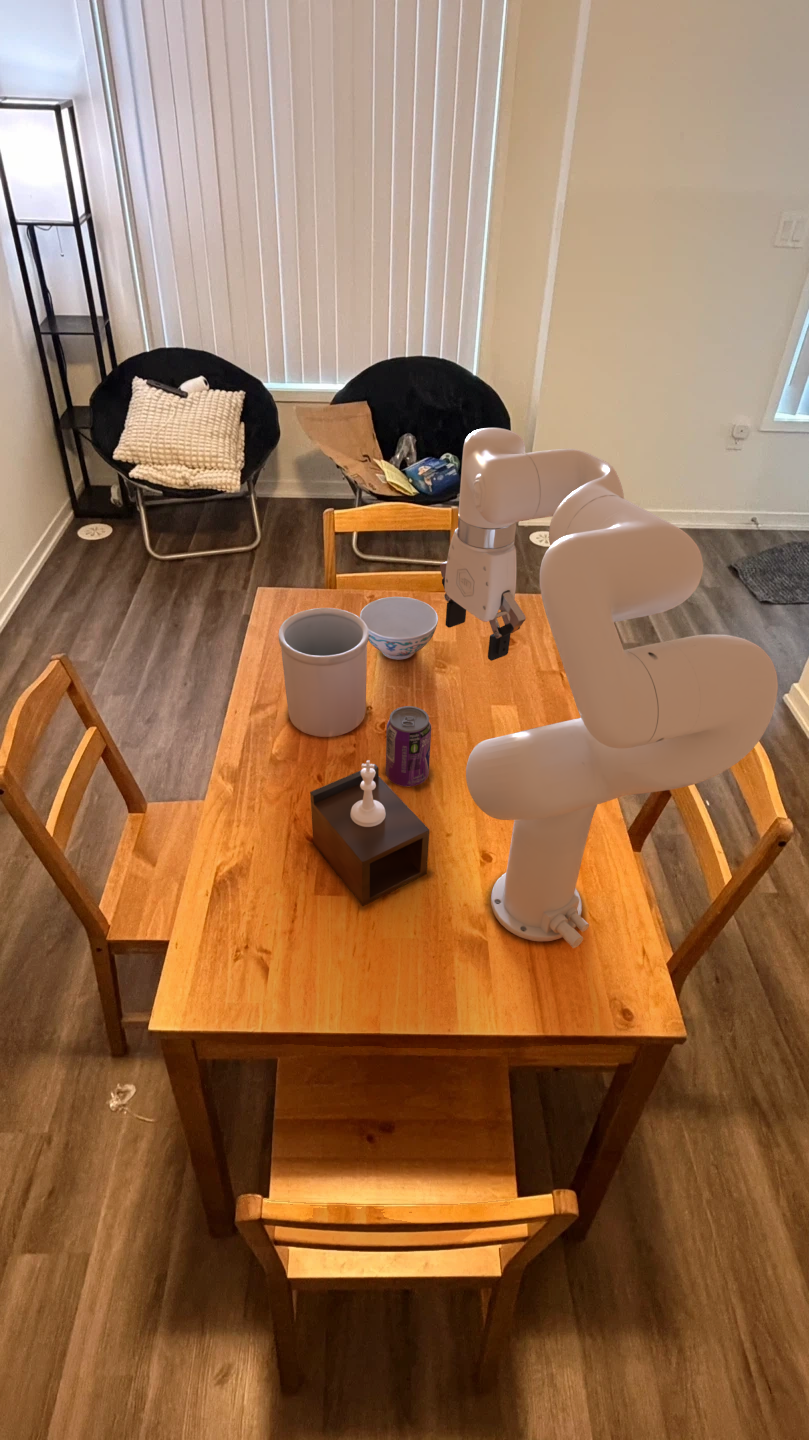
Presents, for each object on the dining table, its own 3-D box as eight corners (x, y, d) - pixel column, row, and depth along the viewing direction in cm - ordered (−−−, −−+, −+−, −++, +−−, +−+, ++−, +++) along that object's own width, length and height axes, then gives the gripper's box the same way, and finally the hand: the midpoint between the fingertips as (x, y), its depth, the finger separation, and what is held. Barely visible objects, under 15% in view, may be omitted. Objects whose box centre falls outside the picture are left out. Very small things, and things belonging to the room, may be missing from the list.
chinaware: (357, 630, 173) (357, 597, 169) (430, 628, 175) (432, 595, 170) (362, 673, 162) (362, 639, 157) (440, 670, 163) (443, 636, 158)
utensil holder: (348, 749, 145) (347, 664, 134) (270, 727, 149) (262, 644, 138) (380, 700, 156) (382, 618, 145) (306, 681, 159) (302, 600, 148)
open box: (426, 873, 124) (430, 821, 117) (362, 906, 119) (362, 854, 112) (374, 815, 133) (375, 763, 126) (312, 844, 128) (309, 791, 121)
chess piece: (351, 801, 122) (350, 748, 116) (386, 802, 122) (387, 749, 116) (349, 826, 118) (348, 773, 112) (384, 827, 118) (385, 774, 112)
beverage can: (424, 793, 137) (427, 735, 129) (381, 786, 138) (381, 728, 130) (432, 764, 142) (435, 707, 135) (390, 757, 143) (391, 701, 136)
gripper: (424, 510, 114) (419, 619, 124) (507, 564, 103) (493, 679, 113) (468, 498, 117) (460, 605, 128) (553, 549, 106) (536, 662, 117)
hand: (475, 640), depth 121 cm, fingers open, 9 cm apart
